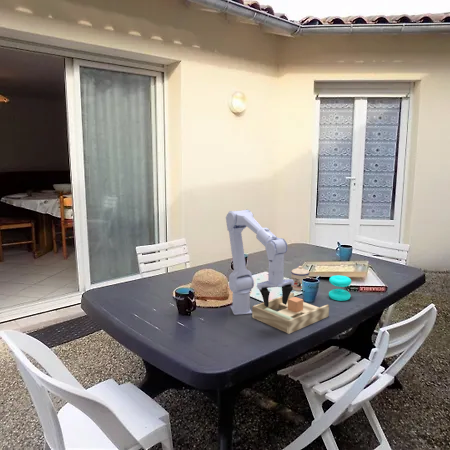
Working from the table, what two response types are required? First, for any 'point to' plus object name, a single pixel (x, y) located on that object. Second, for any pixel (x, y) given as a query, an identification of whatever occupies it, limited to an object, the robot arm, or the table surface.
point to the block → (295, 304)
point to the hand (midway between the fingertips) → (275, 304)
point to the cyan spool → (339, 293)
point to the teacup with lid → (299, 277)
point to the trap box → (288, 315)
